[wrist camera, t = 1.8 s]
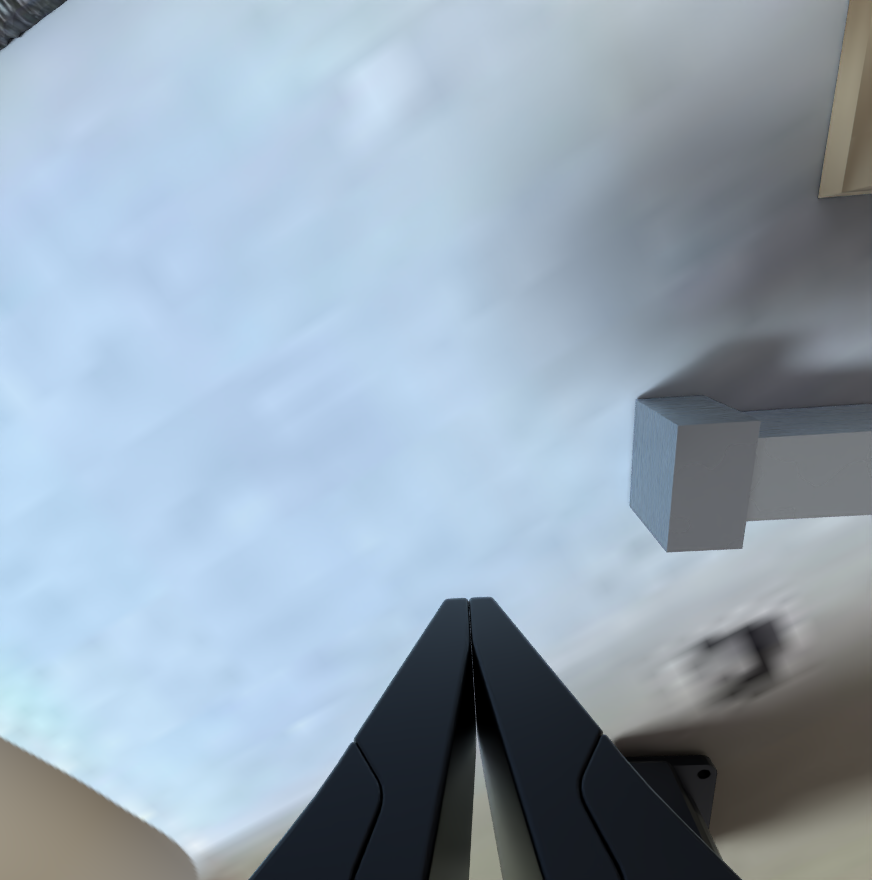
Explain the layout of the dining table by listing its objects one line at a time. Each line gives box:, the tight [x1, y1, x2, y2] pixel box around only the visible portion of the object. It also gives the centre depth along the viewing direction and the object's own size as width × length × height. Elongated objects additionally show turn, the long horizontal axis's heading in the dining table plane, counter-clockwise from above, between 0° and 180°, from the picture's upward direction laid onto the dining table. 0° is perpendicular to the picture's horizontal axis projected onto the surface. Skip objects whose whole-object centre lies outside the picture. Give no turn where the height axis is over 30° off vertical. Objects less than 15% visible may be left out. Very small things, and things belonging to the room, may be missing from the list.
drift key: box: [630, 395, 872, 552], centre depth 13 cm, size 4×12×3 cm, turn 94°
